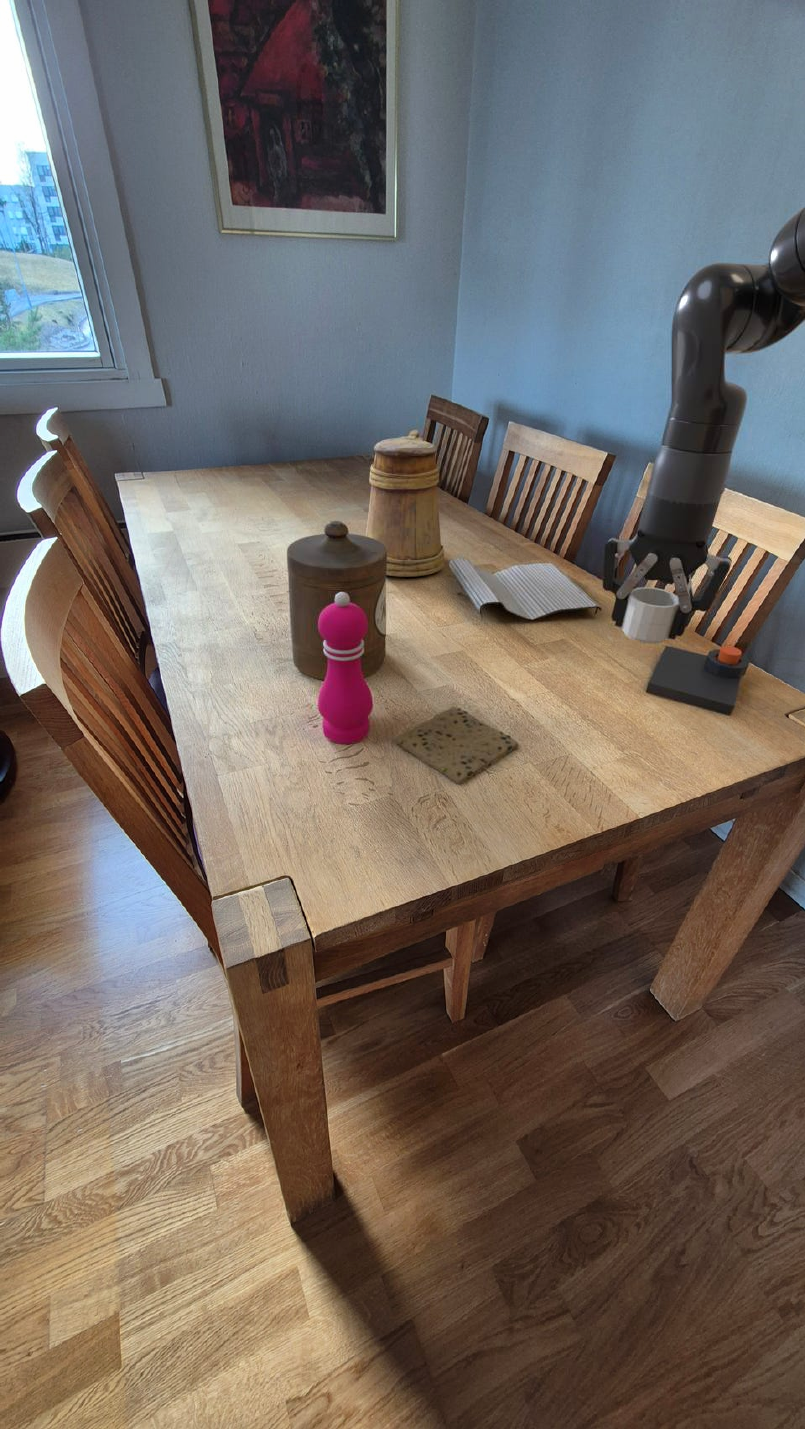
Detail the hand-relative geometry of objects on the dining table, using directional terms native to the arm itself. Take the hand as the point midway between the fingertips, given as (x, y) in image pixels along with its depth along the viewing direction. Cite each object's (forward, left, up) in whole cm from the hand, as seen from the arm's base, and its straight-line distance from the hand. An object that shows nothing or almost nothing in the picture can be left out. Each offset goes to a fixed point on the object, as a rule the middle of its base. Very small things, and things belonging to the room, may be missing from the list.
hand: (645, 630), depth 77 cm
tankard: (+57, -41, -16) cm, 72 cm away
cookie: (+18, +14, -16) cm, 28 cm away
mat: (+28, -36, -16) cm, 48 cm away
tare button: (-11, -24, -12) cm, 29 cm away
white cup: (0, 0, -1) cm, 1 cm away
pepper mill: (+32, +19, -16) cm, 41 cm away
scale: (-7, -20, -16) cm, 26 cm away
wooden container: (+44, +3, -16) cm, 47 cm away
